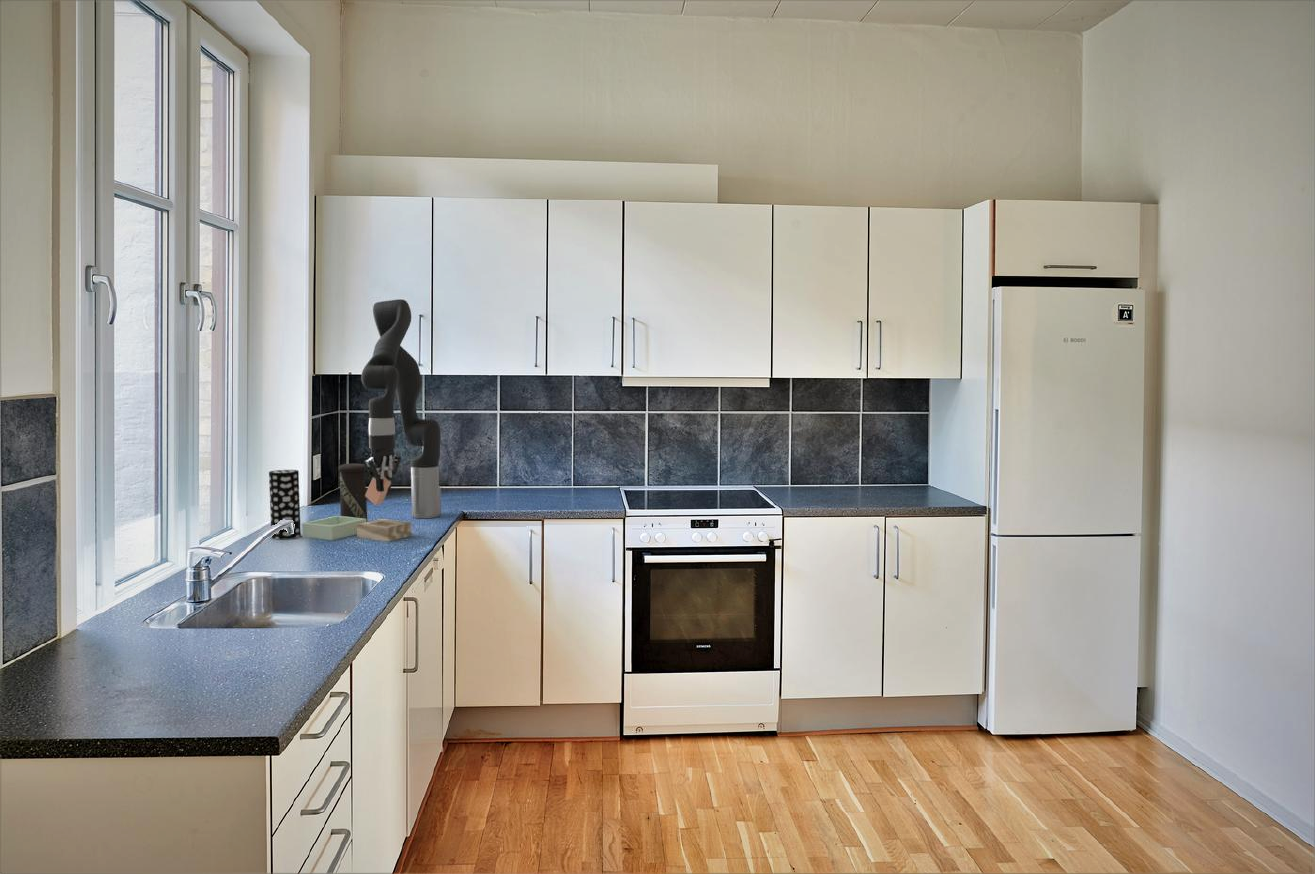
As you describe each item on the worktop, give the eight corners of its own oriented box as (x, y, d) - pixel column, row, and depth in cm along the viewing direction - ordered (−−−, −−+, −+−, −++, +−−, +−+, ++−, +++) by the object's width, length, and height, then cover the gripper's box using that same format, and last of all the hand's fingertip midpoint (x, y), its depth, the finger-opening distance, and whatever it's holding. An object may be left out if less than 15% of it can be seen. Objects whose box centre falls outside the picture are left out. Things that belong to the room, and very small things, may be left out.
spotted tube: (306, 534, 282) (304, 470, 280) (288, 540, 274) (286, 473, 272) (283, 533, 284) (281, 469, 282) (265, 538, 276) (262, 472, 275)
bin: (337, 531, 287) (337, 515, 287) (366, 534, 282) (366, 518, 282) (302, 539, 275) (302, 523, 274) (332, 543, 270) (331, 526, 269)
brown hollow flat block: (381, 534, 282) (380, 517, 282) (411, 538, 277) (411, 521, 276) (357, 540, 273) (356, 523, 273) (388, 544, 268) (387, 526, 267)
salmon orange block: (370, 494, 278) (380, 472, 275) (381, 503, 276) (391, 482, 274) (364, 495, 276) (374, 473, 273) (375, 505, 274) (385, 483, 271)
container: (334, 526, 296) (332, 464, 294) (350, 521, 304) (348, 461, 302) (358, 527, 294) (356, 465, 292) (373, 522, 302) (371, 462, 300)
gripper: (388, 430, 280) (390, 486, 281) (355, 434, 267) (357, 493, 269) (407, 431, 276) (409, 488, 278) (374, 435, 264) (376, 495, 266)
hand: (383, 490), depth 274 cm, fingers closed on salmon orange block, 2 cm apart
